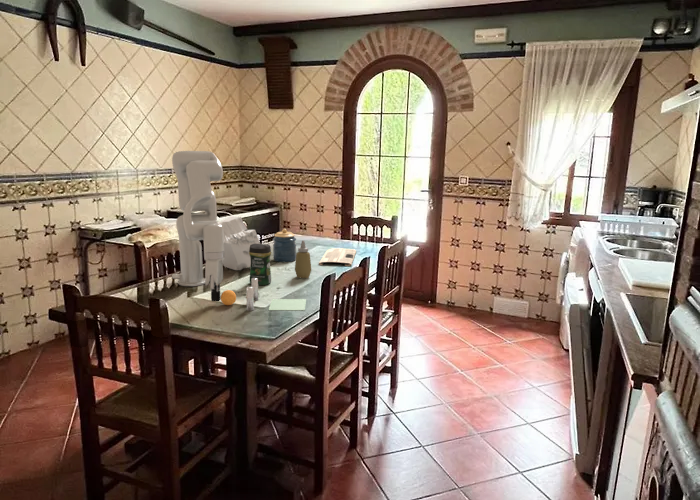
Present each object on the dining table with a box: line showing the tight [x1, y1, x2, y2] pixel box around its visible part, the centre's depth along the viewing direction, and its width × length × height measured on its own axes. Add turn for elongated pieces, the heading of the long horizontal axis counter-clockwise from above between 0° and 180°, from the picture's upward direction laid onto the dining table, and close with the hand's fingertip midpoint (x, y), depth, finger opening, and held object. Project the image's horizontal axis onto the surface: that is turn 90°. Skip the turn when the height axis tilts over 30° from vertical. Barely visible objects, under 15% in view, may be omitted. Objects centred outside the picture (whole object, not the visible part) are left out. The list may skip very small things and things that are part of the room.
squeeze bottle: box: [294, 240, 312, 279], centre depth 242 cm, size 8×8×18 cm
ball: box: [220, 289, 237, 306], centre depth 199 cm, size 6×6×6 cm
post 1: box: [245, 286, 255, 312], centre depth 193 cm, size 3×3×9 cm
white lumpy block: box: [218, 215, 261, 271], centre depth 258 cm, size 20×16×25 cm
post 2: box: [250, 278, 259, 302], centre depth 205 cm, size 3×3×9 cm
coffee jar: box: [249, 243, 272, 286], centre depth 229 cm, size 10×8×19 cm
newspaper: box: [318, 247, 357, 267], centre depth 287 cm, size 37×19×3 cm, turn 175°
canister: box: [272, 228, 297, 263], centre depth 279 cm, size 13×13×18 cm
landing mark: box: [268, 298, 307, 311], centre depth 201 cm, size 14×14×1 cm
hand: (215, 300), depth 199 cm, fingers closed
